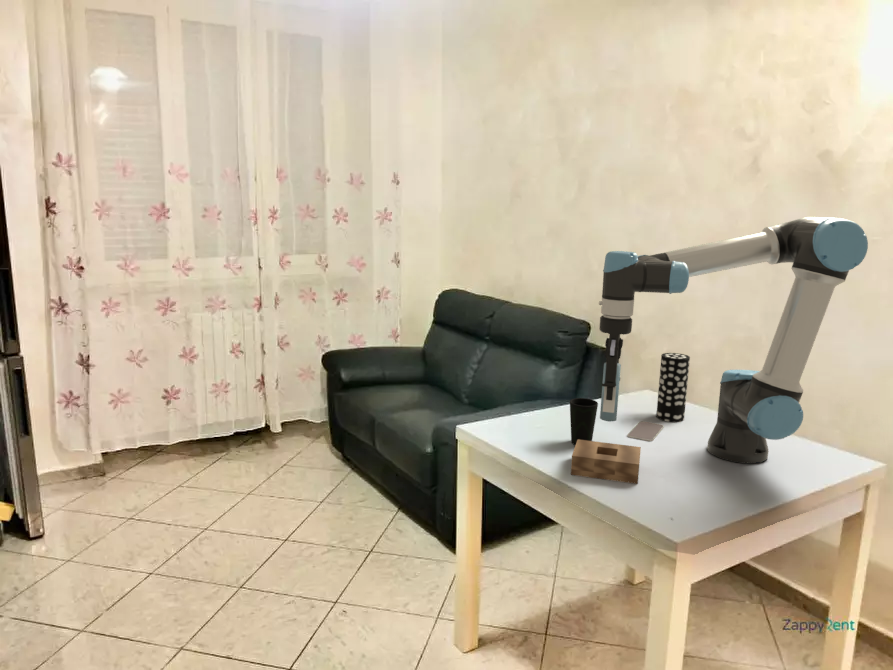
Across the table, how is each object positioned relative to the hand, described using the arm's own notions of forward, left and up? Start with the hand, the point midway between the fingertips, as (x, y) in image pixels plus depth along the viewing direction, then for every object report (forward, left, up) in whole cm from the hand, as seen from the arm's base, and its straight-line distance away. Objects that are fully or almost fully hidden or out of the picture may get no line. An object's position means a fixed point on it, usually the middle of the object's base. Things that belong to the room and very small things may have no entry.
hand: (609, 408), depth 164 cm
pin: (0, 0, -3) cm, 3 cm away
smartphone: (-9, -33, -17) cm, 38 cm away
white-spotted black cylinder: (-16, -49, -16) cm, 54 cm away
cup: (+8, -17, -16) cm, 25 cm away
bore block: (0, 0, -16) cm, 16 cm away
